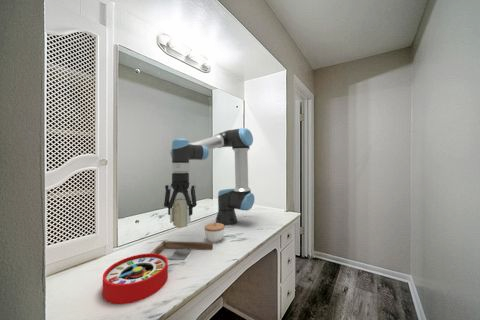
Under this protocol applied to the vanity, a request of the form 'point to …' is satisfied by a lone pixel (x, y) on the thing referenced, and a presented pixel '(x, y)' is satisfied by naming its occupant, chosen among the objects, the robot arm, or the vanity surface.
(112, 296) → the toy clock
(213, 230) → the lidded jar
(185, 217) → the skincare box
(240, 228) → the vanity surface
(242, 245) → the vanity surface
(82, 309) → the vanity surface
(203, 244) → the walnut l-shaped corner bracket
